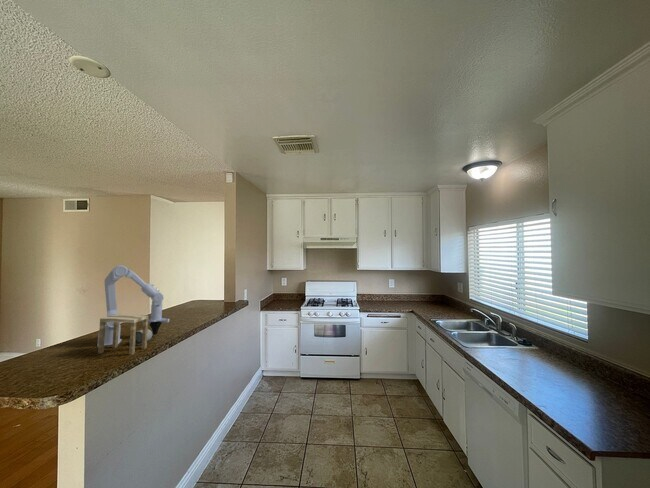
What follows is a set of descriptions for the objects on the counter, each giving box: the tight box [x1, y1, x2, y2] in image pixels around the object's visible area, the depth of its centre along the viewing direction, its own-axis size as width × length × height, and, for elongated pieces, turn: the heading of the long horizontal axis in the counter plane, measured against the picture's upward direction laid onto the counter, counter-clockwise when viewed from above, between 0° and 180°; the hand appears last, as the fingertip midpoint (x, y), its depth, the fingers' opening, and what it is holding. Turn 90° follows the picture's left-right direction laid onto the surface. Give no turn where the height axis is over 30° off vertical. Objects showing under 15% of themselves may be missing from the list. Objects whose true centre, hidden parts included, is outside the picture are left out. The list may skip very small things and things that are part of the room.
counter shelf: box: [97, 313, 149, 356], centre depth 134 cm, size 10×18×18 cm, turn 88°
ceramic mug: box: [128, 328, 153, 346], centre depth 146 cm, size 11×8×8 cm
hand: (155, 334), depth 157 cm, fingers closed
